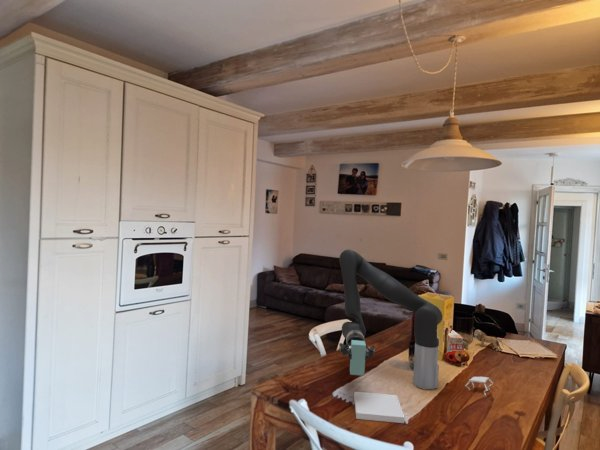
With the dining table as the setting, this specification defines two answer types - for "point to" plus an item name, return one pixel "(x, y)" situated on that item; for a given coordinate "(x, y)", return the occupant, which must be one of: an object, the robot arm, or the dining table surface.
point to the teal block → (357, 357)
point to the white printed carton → (454, 342)
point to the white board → (378, 407)
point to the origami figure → (480, 380)
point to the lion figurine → (486, 339)
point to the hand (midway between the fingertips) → (358, 357)
